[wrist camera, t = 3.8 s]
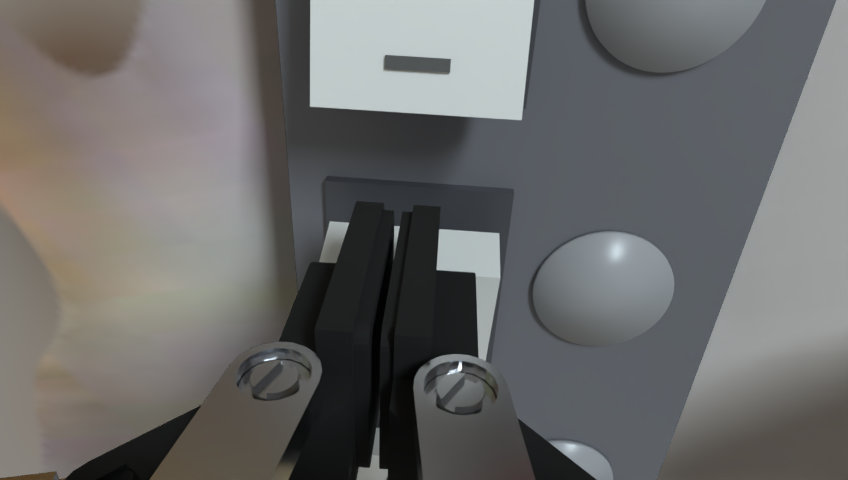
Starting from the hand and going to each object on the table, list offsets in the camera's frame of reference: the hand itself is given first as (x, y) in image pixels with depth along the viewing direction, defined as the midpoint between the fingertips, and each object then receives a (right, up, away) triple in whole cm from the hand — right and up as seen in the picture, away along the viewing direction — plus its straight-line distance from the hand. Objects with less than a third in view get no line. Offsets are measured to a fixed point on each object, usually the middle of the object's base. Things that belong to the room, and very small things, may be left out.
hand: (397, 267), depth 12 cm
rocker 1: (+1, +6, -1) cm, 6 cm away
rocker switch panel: (+3, -1, +9) cm, 10 cm away
